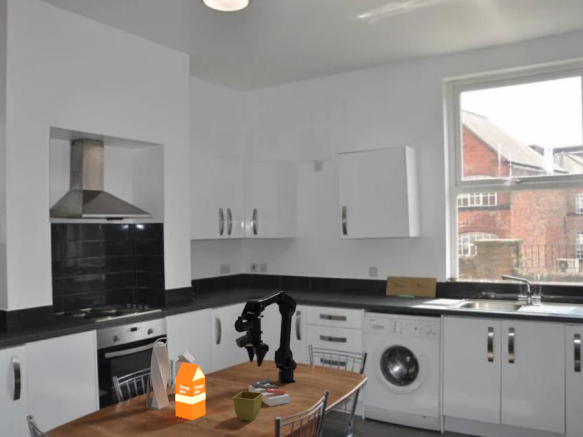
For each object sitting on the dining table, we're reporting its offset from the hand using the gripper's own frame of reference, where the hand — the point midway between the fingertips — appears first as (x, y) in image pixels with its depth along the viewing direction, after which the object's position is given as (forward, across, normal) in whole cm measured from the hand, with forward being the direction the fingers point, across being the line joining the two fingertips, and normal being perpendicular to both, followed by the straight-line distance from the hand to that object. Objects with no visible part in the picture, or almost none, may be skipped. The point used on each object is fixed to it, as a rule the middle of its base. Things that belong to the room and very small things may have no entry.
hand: (255, 364), depth 235 cm
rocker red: (+9, +14, +3) cm, 17 cm away
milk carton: (+13, -13, -28) cm, 34 cm away
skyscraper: (+13, -3, -42) cm, 44 cm away
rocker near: (+9, 0, +3) cm, 9 cm away
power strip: (+13, +5, +3) cm, 14 cm away
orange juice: (+13, +14, -33) cm, 38 cm away
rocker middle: (+9, +8, +3) cm, 12 cm away
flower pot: (+13, +28, -14) cm, 34 cm away
